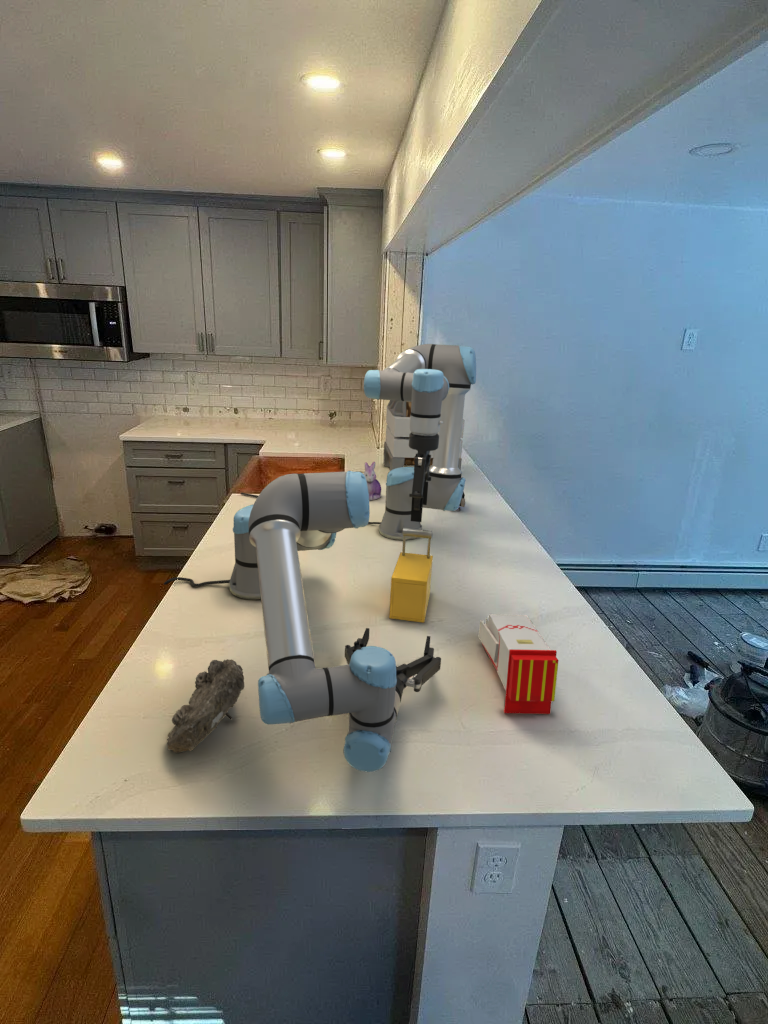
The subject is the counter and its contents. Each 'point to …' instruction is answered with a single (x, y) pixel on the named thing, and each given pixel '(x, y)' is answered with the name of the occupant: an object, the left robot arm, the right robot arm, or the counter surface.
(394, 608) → the yellow open-ended box
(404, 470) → the right robot arm
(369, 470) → the figurine
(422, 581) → the yellow block with rod
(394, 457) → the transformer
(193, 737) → the fossil
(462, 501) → the figurine character
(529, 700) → the toy
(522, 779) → the counter surface
